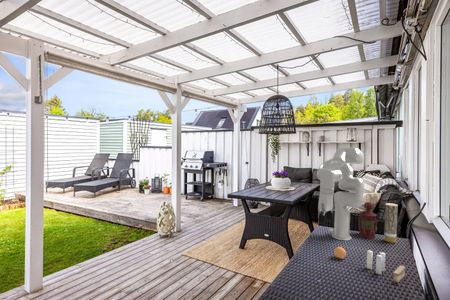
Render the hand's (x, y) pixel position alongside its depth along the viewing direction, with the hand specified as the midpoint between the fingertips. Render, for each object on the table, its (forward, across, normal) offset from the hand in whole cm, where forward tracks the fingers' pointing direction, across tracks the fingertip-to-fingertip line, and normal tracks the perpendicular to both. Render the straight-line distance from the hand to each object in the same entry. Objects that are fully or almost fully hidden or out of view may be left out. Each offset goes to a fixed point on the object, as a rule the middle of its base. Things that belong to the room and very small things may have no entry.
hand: (325, 220), depth 149 cm
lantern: (+18, -55, +6) cm, 58 cm away
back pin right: (+19, +3, +29) cm, 35 cm away
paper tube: (+18, -56, +20) cm, 62 cm away
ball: (+16, 0, +9) cm, 18 cm away
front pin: (+19, 0, +24) cm, 30 cm away
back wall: (+19, 0, +37) cm, 41 cm away
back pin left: (+19, -2, +29) cm, 34 cm away
